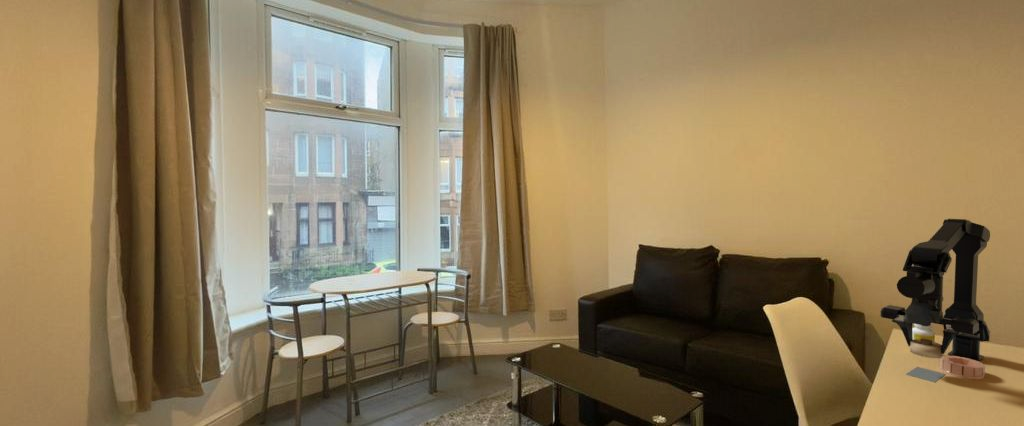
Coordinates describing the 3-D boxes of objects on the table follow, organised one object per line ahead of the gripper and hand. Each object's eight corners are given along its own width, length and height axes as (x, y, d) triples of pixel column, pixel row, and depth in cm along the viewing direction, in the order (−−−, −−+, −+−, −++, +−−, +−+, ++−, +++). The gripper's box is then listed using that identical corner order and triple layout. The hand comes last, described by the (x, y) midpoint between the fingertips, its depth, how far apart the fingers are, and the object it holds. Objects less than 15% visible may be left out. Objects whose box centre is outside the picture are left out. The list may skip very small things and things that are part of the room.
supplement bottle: (938, 357, 132) (939, 325, 132) (917, 356, 133) (918, 324, 133) (925, 351, 138) (926, 320, 137) (905, 350, 139) (906, 319, 138)
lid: (915, 347, 124) (915, 334, 124) (945, 354, 119) (946, 340, 119) (906, 352, 121) (906, 339, 121) (937, 360, 116) (938, 345, 115)
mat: (917, 368, 125) (917, 366, 125) (946, 375, 120) (946, 373, 120) (905, 375, 121) (905, 374, 121) (934, 383, 115) (934, 382, 115)
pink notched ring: (945, 365, 127) (946, 353, 126) (988, 375, 119) (988, 362, 119) (935, 372, 122) (936, 359, 122) (978, 383, 115) (979, 370, 115)
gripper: (873, 290, 123) (871, 345, 124) (967, 305, 107) (964, 368, 108) (889, 285, 129) (887, 338, 129) (980, 298, 113) (978, 358, 114)
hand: (926, 349), depth 120 cm, fingers closed on lid, 6 cm apart
